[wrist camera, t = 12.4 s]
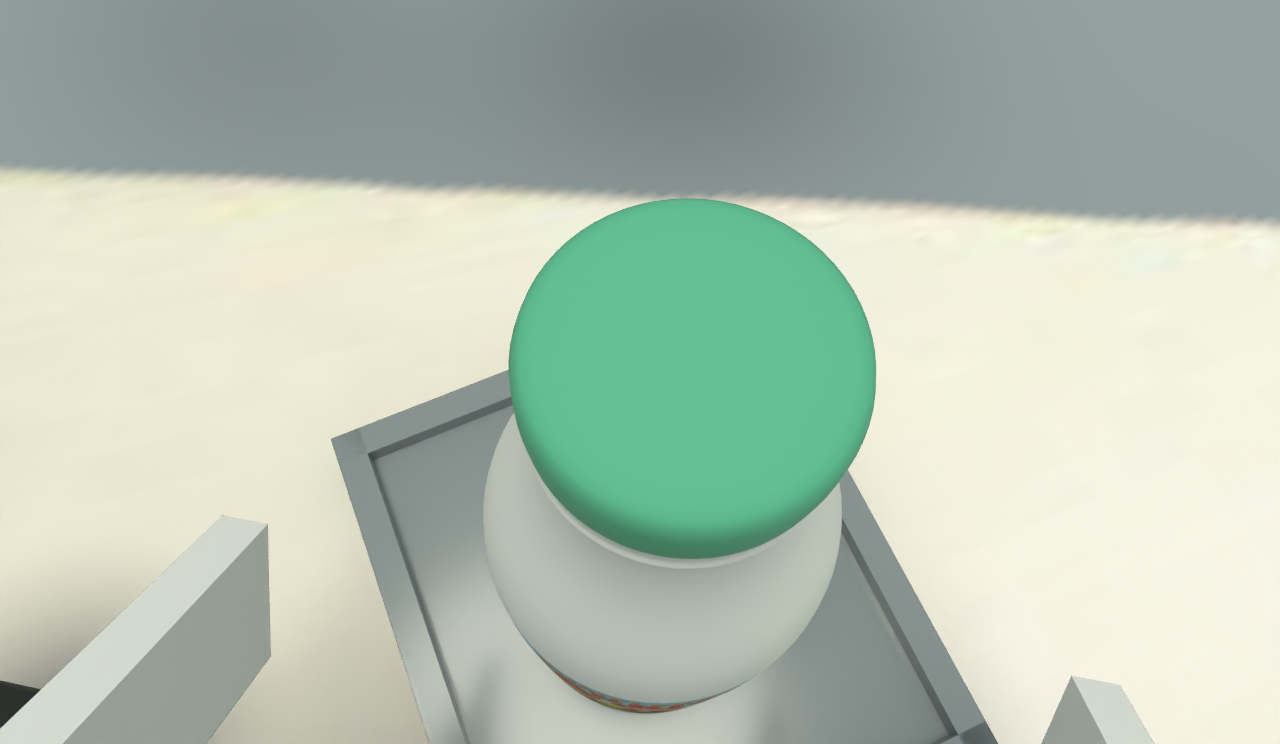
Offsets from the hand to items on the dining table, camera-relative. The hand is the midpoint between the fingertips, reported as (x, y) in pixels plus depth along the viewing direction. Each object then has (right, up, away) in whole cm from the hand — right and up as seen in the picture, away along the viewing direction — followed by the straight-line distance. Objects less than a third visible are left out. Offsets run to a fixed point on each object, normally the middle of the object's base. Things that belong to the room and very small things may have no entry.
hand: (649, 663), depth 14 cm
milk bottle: (0, -3, +15) cm, 15 cm away
